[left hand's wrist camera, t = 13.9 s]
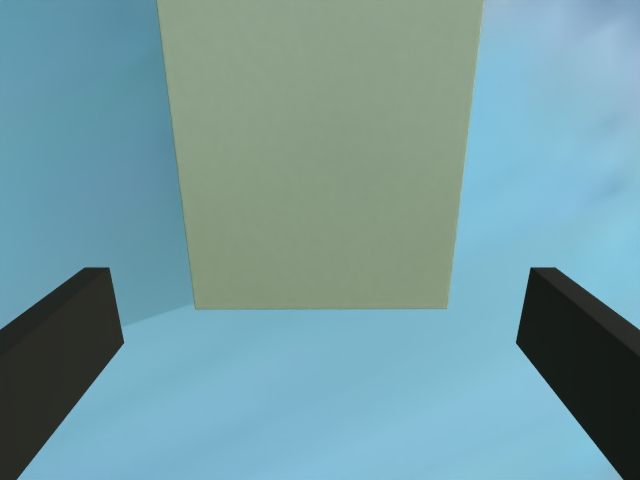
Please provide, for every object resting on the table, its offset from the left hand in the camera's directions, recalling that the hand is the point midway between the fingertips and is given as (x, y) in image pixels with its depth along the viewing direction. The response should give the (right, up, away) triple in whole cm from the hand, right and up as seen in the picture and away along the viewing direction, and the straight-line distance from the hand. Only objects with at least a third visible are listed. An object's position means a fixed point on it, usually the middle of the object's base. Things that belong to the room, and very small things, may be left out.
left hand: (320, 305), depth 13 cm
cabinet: (0, +12, +12) cm, 17 cm away
